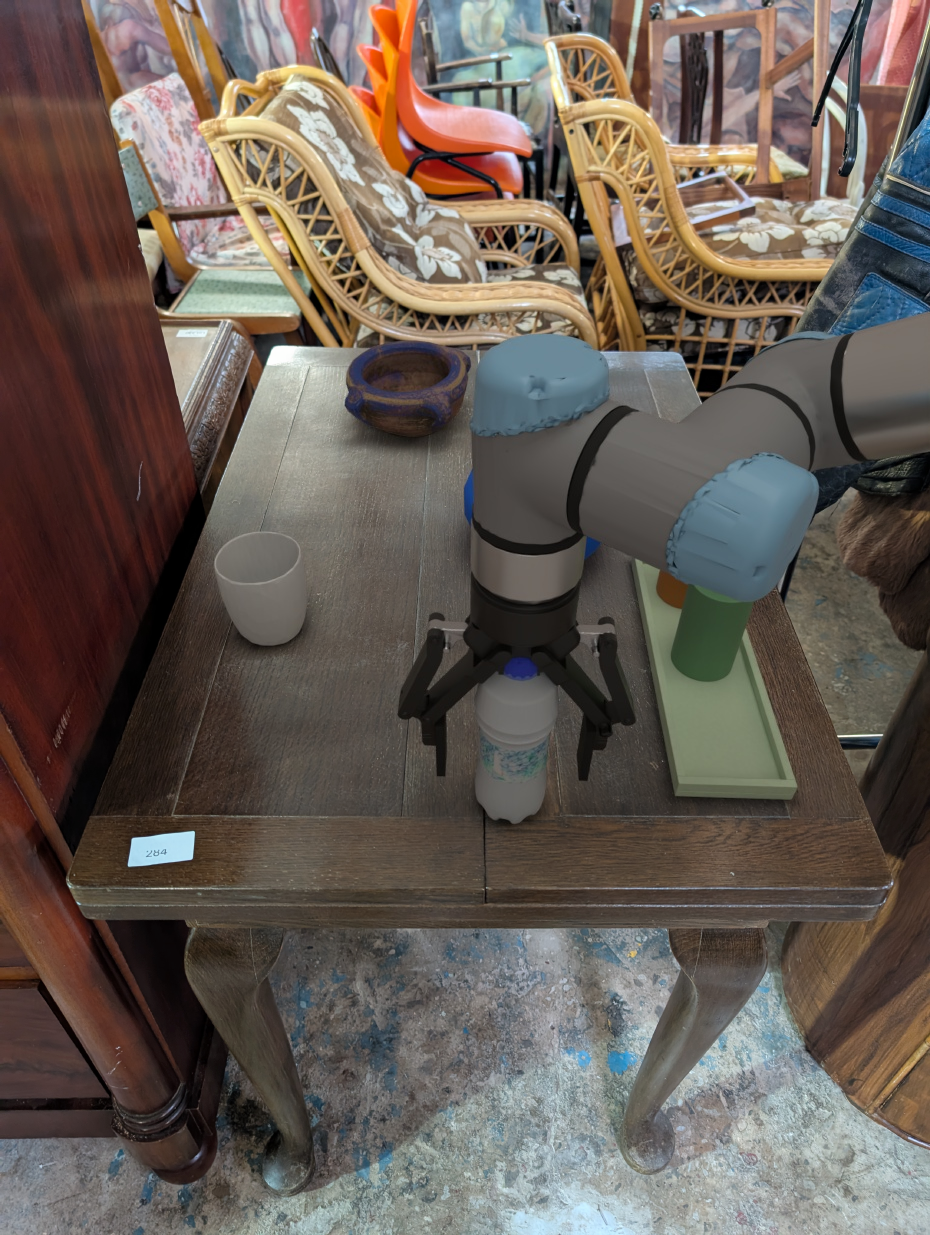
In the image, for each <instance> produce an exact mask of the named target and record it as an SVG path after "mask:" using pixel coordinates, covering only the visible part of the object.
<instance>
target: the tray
mask: <svg viewBox="0 0 930 1235" xmlns="http://www.w3.org/2000/svg"><path fill="white" fill-rule="evenodd" d="M631 558H632V559H631V564H630V566H631V570H632V575H633V576H632V577H633V581H634V587H635V592H636V597H637V602H638V608H639V613H640V618H641V624H642V630H643V633H644V640H645V644H646V650H647V655H648V659H649V660H648V661H649V666H650V670H651V671H650V672H651V676H652V681H653V687H654V692H655V697H656V704H657V707H658V714H659V718H660V725H661V730H662V735H663V741H664V747H665V751H666V758H667V761H668V767H669V772H670V778H671V783H672V789H673V794H674V796H675V797H692V798H696V797H697V798H721V799H724V798H725V799H727V798H728V799H757V800H759V799H760V800H788V801H791V800H793V798H794V795H795V793H796V792H797V790H798V784H797V780H796V778H795V775H794V772H793V769H792V765H791V762H790V760H789V756H788V753H787V750H786V747H785V744H784V741H783V738H782V735H781V731H780V728H779V726H778V722H777V719H776V716H775V714H774V710H773V706H772V703H771V701H770V698H769V695H768V690H767V688H766V686H765V682H764V680H763V677H762V676H763V675H762V673H761V670H760V667H759V664H758V661H757V658H756V655H755V652H754V648H753V646H752V642H751V639H750V636H749V632H748V631H747V627H746V628H745V631H744V634H743V637H742V640H741V643H740V646H739V649H738V652H737V655H736V658H735V660H734V663H733V666H732V669H731V671H730V673H729V674H728V675H727V676H726V677H724V678H723V679H720V680H717V681H711V682H705V681H698V680H694V679H692V678H689V677H687V676H685V675H684V674H682V673H681V672H680V671H678V670H677V668H676V667H675V666H674V664H673V663H672V660H671V650H672V646H673V642H674V638H675V634H676V631H677V627H678V623H679V619H680V615H681V611H682V609H679V608H676V607H673V606H671V605H669V604H667V603H665V602H664V601H663V600H662V599H661V598H660V597H659V595H658V594H657V591H656V585H657V580H658V576H659V571H660V570H659V569H657V568H655V567H653V566H651V565H648V564H646V563H644V562H642V561H640V560H638V559H635V558H633V557H631Z"/></svg>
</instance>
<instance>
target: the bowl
mask: <svg viewBox="0 0 930 1235" xmlns="http://www.w3.org/2000/svg"><path fill="white" fill-rule="evenodd" d="M471 368H472V361H471V358H470V356H468V355H467V354H466V353H465V352H464V351H463V350H461V349H459V348H454V347H450V346H446V345H443V344H438V343H435V342H431V341H423V340H413V339H412V340H397V341H392V342H390V341H389V342H386V343H381V344H377V345H373V346H371V347H370V348H368V349H366V350H365V351H363V352H362V353H360V354H359V355H358V356H356V357H354V359H352V360H351V362H350V364H349V365H348V367H347V370H346V375H345V385H346V388H347V392H348V393H347V395H346V397H345V399H344V405H343V406H344V407H345V409H346V410H347V412H348V413H349V414H351V415H352V416H353V417H354V418H355V419H357V420H358V421H360V422H361V423H363V424H365V426H368V427H370V428H375V429H378V430H381V431H383V432H386V433H389V434H393V435H396V436H402V437H411V438H413V437H414V438H416V437H423V436H428V435H431V434H434V433H436V432H438V431H439V430H442V429H443V428H444V427H445V426H446V425H448V424H449V423H450V422H451V421H452V420H453V419H454V418H455V417H456V416H457V414H458V413H459V412H460V410H461V408H462V406H463V403H464V399H465V394H466V392H467V387H468V381H469V374H468V373H469V372H470V370H471Z"/></svg>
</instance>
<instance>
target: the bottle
mask: <svg viewBox="0 0 930 1235" xmlns="http://www.w3.org/2000/svg"><path fill="white" fill-rule="evenodd" d="M558 686H559V685H558ZM558 686H556V685H555V684H554V683H553V682H552V681H551V680H550V679H549V677H548V676H547V675H546V674H545V673H544V672H543V673H540V676H537V666H536V665H535V664H534V663H533V662H532V660H531V659H530V658H523V657H518V658H512V659H511V661H510V662H509V663H507V664H506V665H505V668H504V675H499V672H497V671H496V672H495V673H494V674H493V675H492V676H491V677H489V678H488V679H487V680H486V681H485V682H484V683H483V684H480V683H478V684H477V688H476V691H475V694H474V701H473V702H474V715H475V720H476V722H477V725H478V746H477V763H476V769H475V770H476V771H475V778H474V789H475V790H474V791H475V797H476V801H477V802H478V804H479V805H481V806H482V808H483V809H484V810H485V812H486V814H487V816H488V818H490V819H491V820H493V821H498V820H499V819H503V820H507V821H509V822H510V823H511V825H516V824H520V823H521V822H522V821H523V820H524V819H526V818H527V817H529V816H534V815H536V814H537V813H538V811H539V810H540V809H541V807H542V804H543V802H544V798H545V796H546V791H547V778H548V776H547V774H548V773H547V768H548V767H547V765H548V764H547V763H548V758H549V749H550V741H551V732H552V731H553V729H554V727H555V726H556V723H557V719H558V713H559V709H560V700H559V699H560V698H559V688H558Z"/></svg>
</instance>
